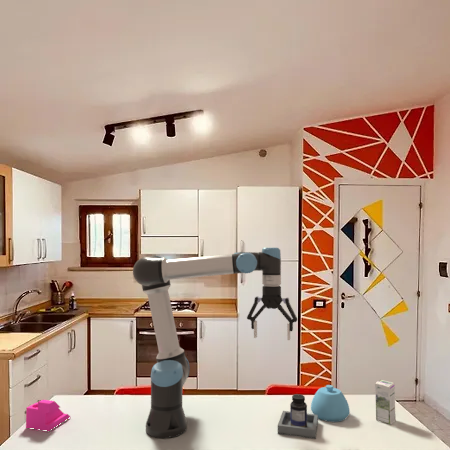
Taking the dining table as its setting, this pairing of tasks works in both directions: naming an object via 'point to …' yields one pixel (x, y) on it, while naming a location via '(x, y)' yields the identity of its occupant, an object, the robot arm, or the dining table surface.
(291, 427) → the bin
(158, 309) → the robot arm
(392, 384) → the syrup box
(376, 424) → the dining table surface
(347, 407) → the sugar bowl
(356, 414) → the dining table surface
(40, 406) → the bracket
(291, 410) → the pill bottle
